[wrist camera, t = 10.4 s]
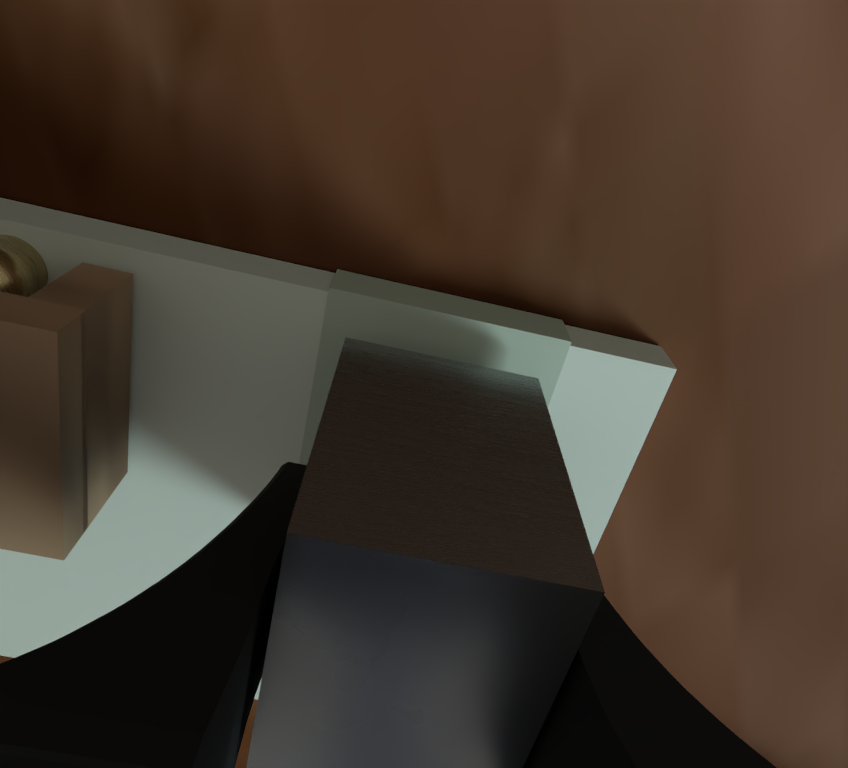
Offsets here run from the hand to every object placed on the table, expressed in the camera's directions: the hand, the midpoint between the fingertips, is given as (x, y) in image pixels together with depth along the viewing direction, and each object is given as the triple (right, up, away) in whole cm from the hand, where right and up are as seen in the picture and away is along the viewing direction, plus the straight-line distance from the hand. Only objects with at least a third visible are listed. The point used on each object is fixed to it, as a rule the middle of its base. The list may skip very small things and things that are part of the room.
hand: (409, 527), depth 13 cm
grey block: (0, +1, +2) cm, 2 cm away
